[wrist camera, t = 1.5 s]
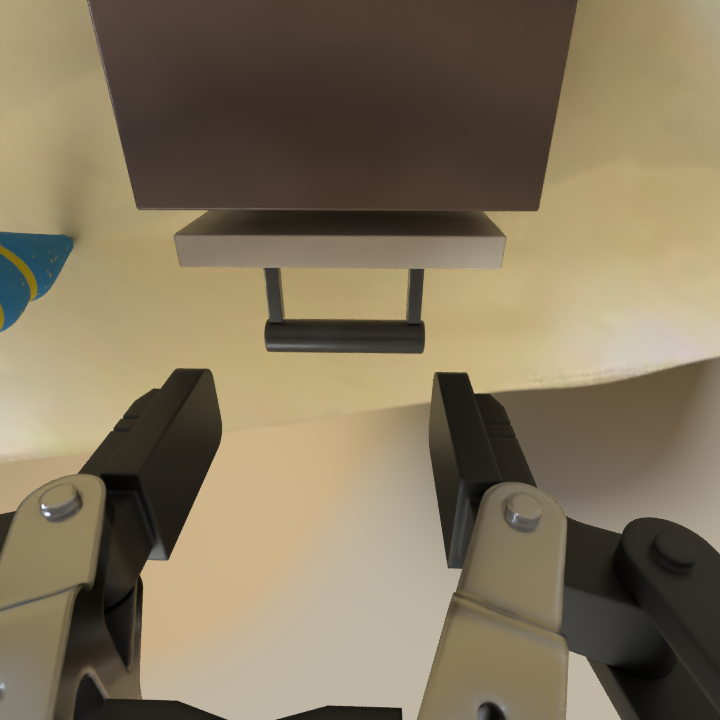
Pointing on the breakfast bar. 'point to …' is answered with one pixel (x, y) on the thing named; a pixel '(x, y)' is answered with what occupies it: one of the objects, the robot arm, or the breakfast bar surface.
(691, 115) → the breakfast bar surface
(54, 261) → the ornament
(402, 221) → the drawer
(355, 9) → the cabinet
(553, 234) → the breakfast bar surface
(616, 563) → the robot arm
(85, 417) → the breakfast bar surface
